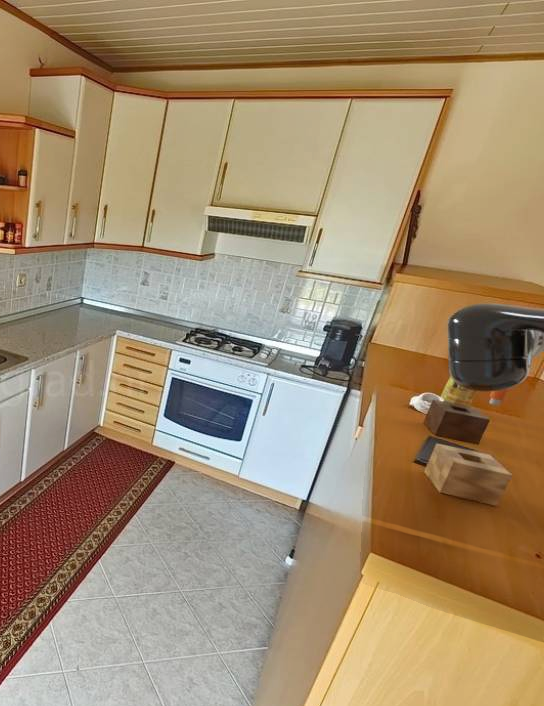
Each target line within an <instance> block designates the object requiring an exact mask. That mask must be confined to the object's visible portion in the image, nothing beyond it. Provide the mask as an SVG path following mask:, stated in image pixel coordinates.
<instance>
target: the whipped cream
mask: <svg viewBox="0 0 544 706" xmlns="http://www.w3.org/2000/svg"><path fill="white" fill-rule="evenodd" d="M433 400H438V401H443V402H444V400H443V399H442V398H441V395H438V394H435V393H433V392H424V393H421V394H419V395H415V396H412V397H411V399H410V402H409V405H410V406H412V407H414V409H415V410H417V411H418V412H420V413H422V414H425V415H427V413H428V410H429V408H430V405H431V403H432V401H433Z"/></svg>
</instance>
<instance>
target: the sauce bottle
mask: <svg viewBox="0 0 544 706" xmlns="http://www.w3.org/2000/svg"><path fill="white" fill-rule="evenodd" d="M477 392H478V391H473V390H469V389H466V388H464V387H462V386H460V385H458V384H457V383H456V382H455V381H454V380H453V379H452V378H451V376H449V378H448V380H447V381H446V385H445V386H444V388H443V390H442V392H441V395H440V397H441V398H442V399H443V400H444V402H448V403H453V404H459V405H464V406H469V407H471V404H472V402H473V400H474V399H475V396H476V394H477Z"/></svg>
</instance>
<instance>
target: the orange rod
mask: <svg viewBox="0 0 544 706" xmlns="http://www.w3.org/2000/svg"><path fill="white" fill-rule="evenodd" d="M509 389H510V388H507V389H504V390H499V391H491V392H490V394H489V398H490V400H489V404H490V405H494V406H499V405H500V402H501V401H504V400H505V398H506V396H507V393H508V391H509Z"/></svg>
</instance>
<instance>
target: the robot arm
mask: <svg viewBox="0 0 544 706" xmlns="http://www.w3.org/2000/svg"><path fill="white" fill-rule="evenodd" d="M446 327H447V329H446V332H447V333H446V334H447V356H448V357H447V359H448V364H447V365H448V372H449V375H450V376H451V378H452V379H453V380H454V381H455V382H456V383H457V384H458V385H460V386H462V387H464V388H466V389H469V390H473V391H477V392H480V393H481V392H483V393H485V392H487V393H488V392H489V393H491V392H492V391H499V390H504V389H507V388H509V389H511V388H513V387H515V386H518V385H519V384H521V383H523V382H524V381H525V380H526V379H527V378H528V377H529V374H530V371H531V369H532V362H533V359H534V358H535V357H537V356H538V355H540V354H542V353H543V352H544V308H537V307H527V306H519V305H511V304H503V303H493V302H481V303H473V304H470V305H467V306H463V307H462V308H459V309H457V310H456V311H454V312H453V313H452V314H451V315H450V316H449V318H448V320H447V325H446ZM450 376H449V377H450Z"/></svg>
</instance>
